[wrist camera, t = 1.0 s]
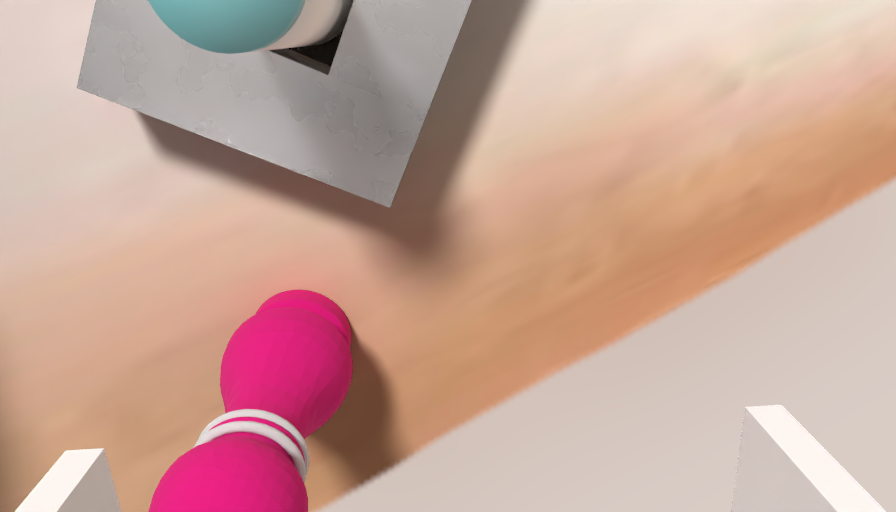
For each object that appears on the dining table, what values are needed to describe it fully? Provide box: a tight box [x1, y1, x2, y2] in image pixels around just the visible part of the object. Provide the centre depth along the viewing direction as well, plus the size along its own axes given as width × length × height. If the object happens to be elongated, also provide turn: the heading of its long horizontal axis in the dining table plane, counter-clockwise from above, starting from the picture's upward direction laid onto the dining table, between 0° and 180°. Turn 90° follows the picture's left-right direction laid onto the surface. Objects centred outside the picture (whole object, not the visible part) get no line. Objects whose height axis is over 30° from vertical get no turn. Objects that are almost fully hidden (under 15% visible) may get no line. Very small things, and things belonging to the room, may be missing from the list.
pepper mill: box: [149, 290, 353, 512], centre depth 31 cm, size 7×7×20 cm
